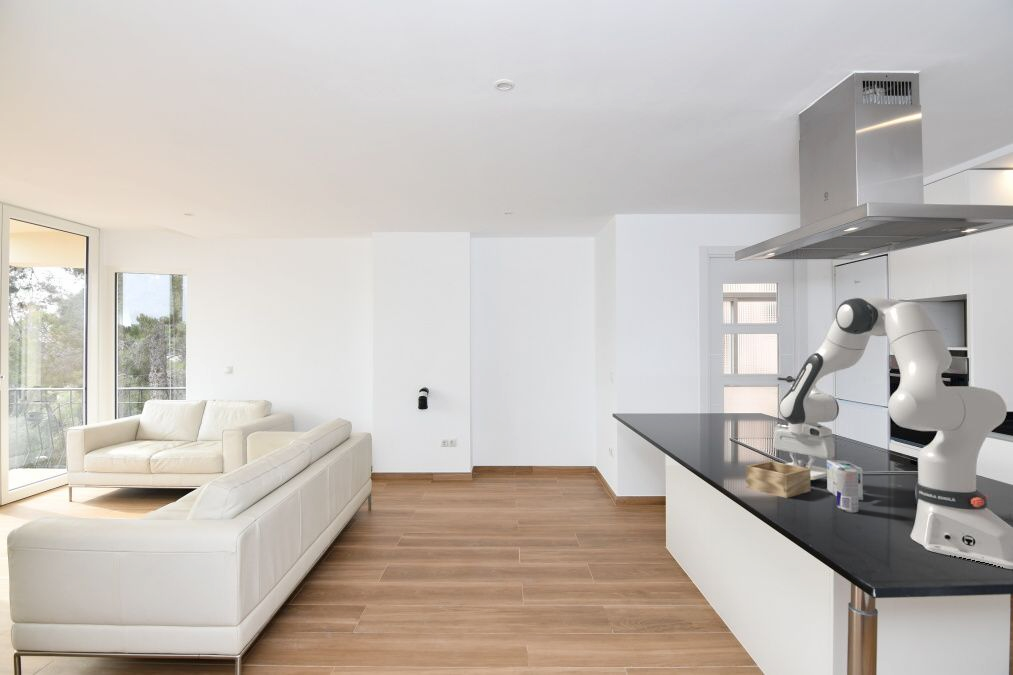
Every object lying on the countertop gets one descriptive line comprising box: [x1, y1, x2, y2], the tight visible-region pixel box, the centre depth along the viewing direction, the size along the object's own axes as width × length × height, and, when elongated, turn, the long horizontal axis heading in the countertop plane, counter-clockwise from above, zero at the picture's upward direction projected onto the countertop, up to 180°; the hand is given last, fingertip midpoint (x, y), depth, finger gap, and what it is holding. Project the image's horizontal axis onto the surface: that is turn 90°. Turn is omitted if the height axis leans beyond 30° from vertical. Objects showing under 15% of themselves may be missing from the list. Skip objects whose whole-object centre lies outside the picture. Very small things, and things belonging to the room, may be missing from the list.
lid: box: [785, 458, 827, 481], centre depth 187 cm, size 15×15×5 cm
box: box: [745, 460, 812, 499], centre depth 175 cm, size 14×14×8 cm
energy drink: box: [836, 468, 859, 514], centre depth 156 cm, size 5×5×12 cm
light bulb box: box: [826, 459, 864, 501], centre depth 169 cm, size 11×7×11 cm, turn 168°
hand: (802, 466), depth 187 cm, fingers closed on lid, 3 cm apart
